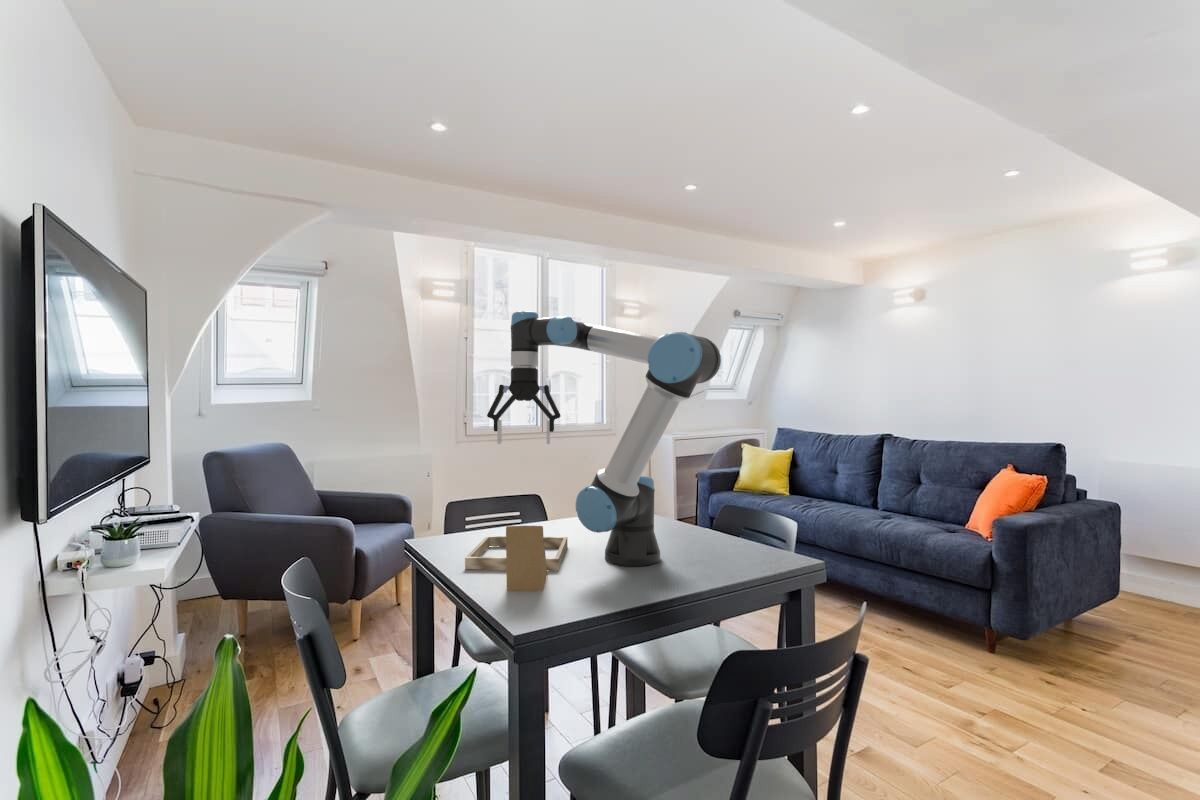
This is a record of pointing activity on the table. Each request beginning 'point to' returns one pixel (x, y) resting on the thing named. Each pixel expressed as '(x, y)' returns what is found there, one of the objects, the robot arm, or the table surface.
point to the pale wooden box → (499, 563)
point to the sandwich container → (525, 558)
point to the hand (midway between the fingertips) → (523, 443)
